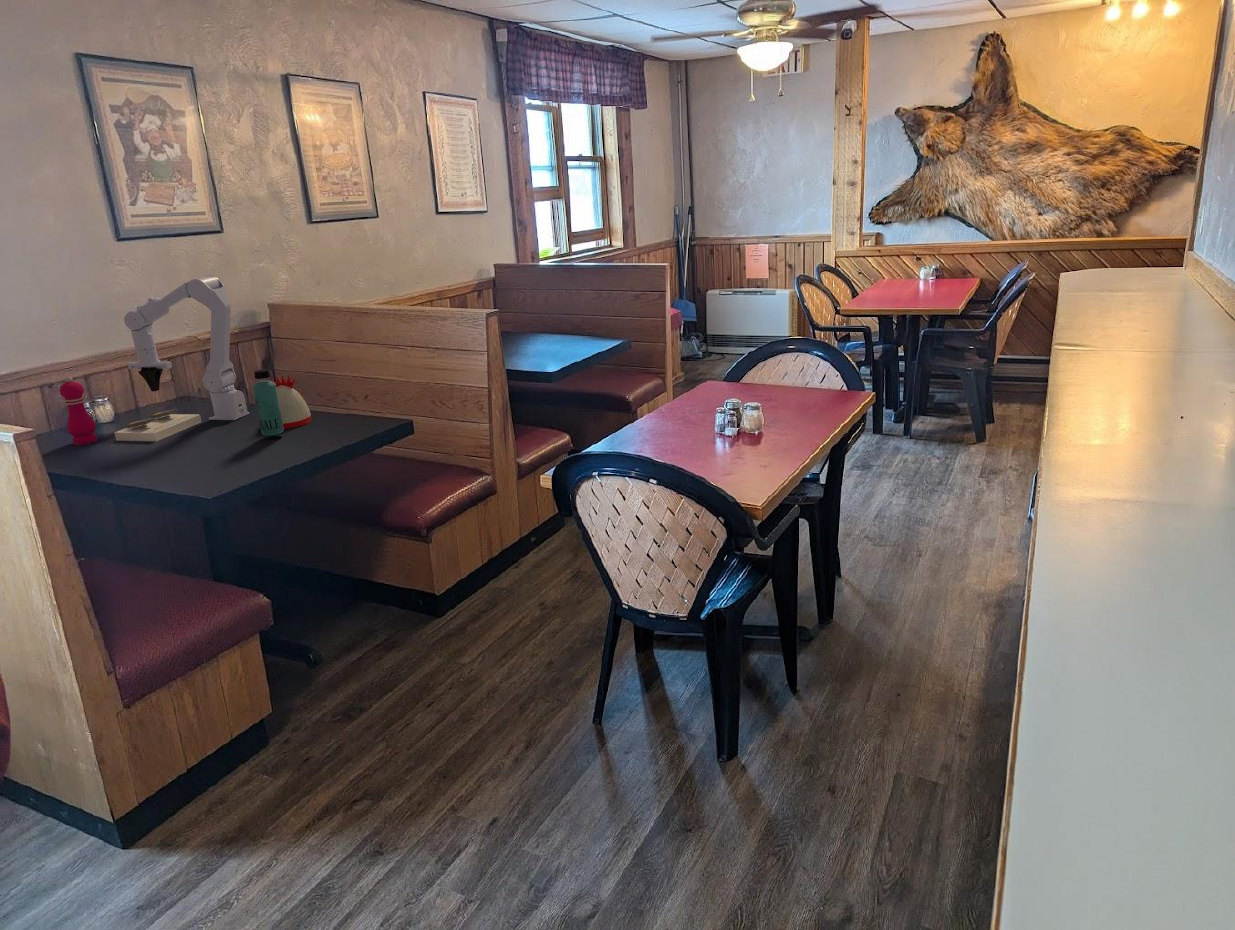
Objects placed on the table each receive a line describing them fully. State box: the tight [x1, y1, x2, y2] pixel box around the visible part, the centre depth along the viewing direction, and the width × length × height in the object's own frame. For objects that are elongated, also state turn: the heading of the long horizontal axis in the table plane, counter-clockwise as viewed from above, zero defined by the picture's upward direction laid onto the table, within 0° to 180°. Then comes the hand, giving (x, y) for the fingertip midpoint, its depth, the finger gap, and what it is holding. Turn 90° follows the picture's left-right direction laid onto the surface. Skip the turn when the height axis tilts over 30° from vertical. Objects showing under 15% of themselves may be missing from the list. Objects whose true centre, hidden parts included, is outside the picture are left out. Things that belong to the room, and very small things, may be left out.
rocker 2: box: [149, 407, 179, 418], centre depth 265 cm, size 7×4×1 cm, turn 77°
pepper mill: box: [59, 376, 98, 446], centre depth 251 cm, size 7×7×20 cm
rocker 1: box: [126, 417, 155, 428], centre depth 256 cm, size 7×4×1 cm, turn 77°
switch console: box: [114, 413, 202, 442], centre depth 261 cm, size 14×20×3 cm
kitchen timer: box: [270, 374, 312, 430], centre depth 261 cm, size 14×14×15 cm
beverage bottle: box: [252, 368, 285, 436], centre depth 245 cm, size 6×7×20 cm
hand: (155, 390), depth 273 cm, fingers closed
